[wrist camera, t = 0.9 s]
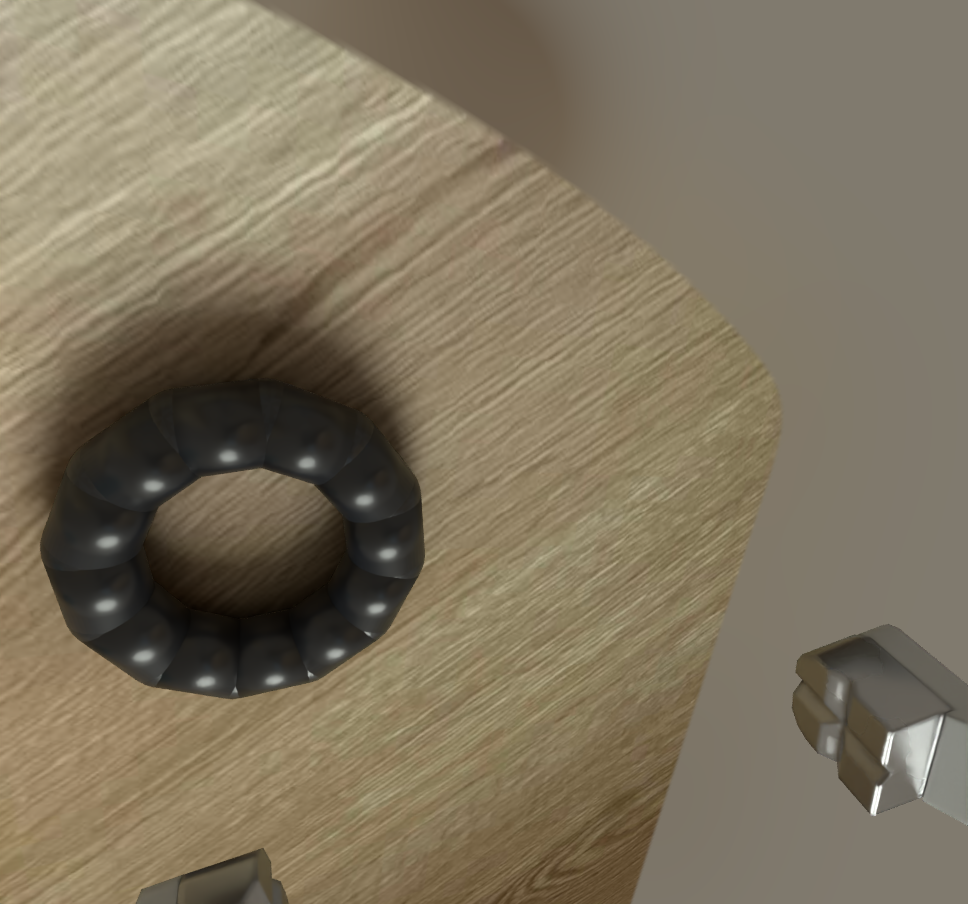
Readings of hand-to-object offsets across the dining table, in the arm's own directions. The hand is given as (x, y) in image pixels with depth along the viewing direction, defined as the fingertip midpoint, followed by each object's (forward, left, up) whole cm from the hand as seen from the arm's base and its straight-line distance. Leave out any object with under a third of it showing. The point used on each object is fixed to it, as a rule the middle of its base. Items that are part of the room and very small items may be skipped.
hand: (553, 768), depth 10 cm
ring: (+6, -2, -14) cm, 15 cm away
